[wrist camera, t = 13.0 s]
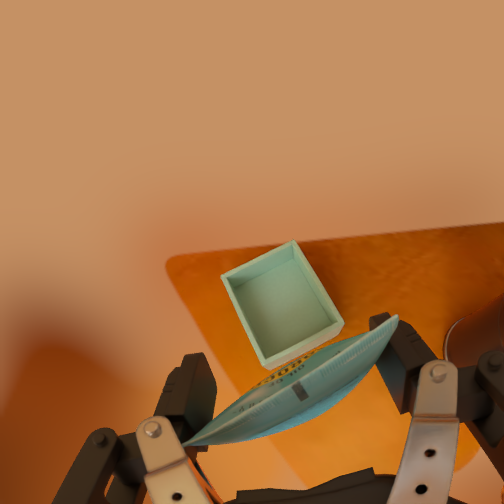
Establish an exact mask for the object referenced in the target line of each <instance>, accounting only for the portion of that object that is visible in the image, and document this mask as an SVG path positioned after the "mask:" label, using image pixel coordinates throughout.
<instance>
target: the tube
mask: <svg viewBox="0 0 504 504" xmlns="http://www.w3.org/2000/svg"><path fill="white" fill-rule="evenodd" d="M398 321H399V316H398V315H397V314H396V315H394V316H392V317H391V318H389V319H388V320H386V321H385V322H383V323H382V324H381V325H380V326H378V327H377V328H375V329H374V330H372V331H369V332H366V333H363V334H360V335H357V336H354V337H351V338H348V339H345V340H343V341H340V342H337V343H334V344H331V345H329V346H326V347H323V348H321V349H318V350H316V351H314V352H312V353H310V354H307V355H305V356H303V357H301V358H299V359H297V360H295V361H293V362H291V363H290V364H288V365H286V366H284V367H283V368H281V369H280V370H278V371H277V372H275V373H273V374H272V375H270V376H269V377H267V378H266V379H264V380H263V381H261V382H260V383H259V384H257V385H256V386H254V387H253V388H251V389H250V390H249V391H248V392H246V393H245V394H244V395H243V396H241V397H240V398H239V399H238V400H236V401H235V402H234V403H233V404H231V405H230V406H229V407H228V408H227V409H225V410H224V411H223V412H222V413H220V414H219V415H218V416H217V417H216V418H214V419H213V420H212V421H211V422H209V423H208V424H207V425H206V426H205V427H204V428H203V429H202V430H200V431H199V432H198V433H197V434H196V435H195V436H194V437H192V438H191V439H190V440H189V441H187V442H185V443H183V446H184V447H186V446H198V445H220V444H229V443H236V442H242V441H247V440H252V439H256V438H260V437H264V436H268V435H271V434H275V433H278V432H281V431H284V430H287V429H290V428H292V427H295V426H297V425H300V424H302V423H305V422H307V421H309V420H311V419H313V418H315V417H317V416H319V415H321V414H322V413H324V412H326V411H327V410H328V409H330V408H331V407H333V406H334V405H335V404H337V403H338V402H339V401H340V400H341V399H343V398H344V397H345V396H346V395H347V394H348V393H349V392H350V391H351V390H353V389H354V387H355V386H356V385H357V384H358V383H359V382H360V381H361V380H362V379H363V378H364V377H365V375H366V374H367V373H368V372H369V370H370V369H371V368H372V367H373V365H374V364H375V363H376V361H377V360H378V358H379V357H380V355H381V354H382V352H383V350H384V349H385V347H386V345H387V344H388V342H389V340H390V338H391V336H392V334H393V333H394V331H395V329H396V328H397V325H398Z"/></svg>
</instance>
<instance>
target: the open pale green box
mask: <svg viewBox="0 0 504 504" xmlns="http://www.w3.org/2000/svg"><path fill="white" fill-rule="evenodd" d="M221 278H222V281H223V283H224V285H225V287H226V290H227V292H228V294H229V296H230V298H231V301H232V303H233V305H234V307H235V309H236V311H237V314H238V316H239V318H240V320H241V322H242V324H243V327H244V329H245V331H246V333H247V335H248V337H249V339H250V341H251V343H252V346H253V348H254V350H255V352H256V354H257V356H258V358H259V360H260V362H261V364H262V366H263V367H265V368H267V369H268V370H272V369H274V368H276V367H278V366H280V365H282V364H284V363H286V362H288V361H290V360H292V359H294V358H296V357H298V356H300V355H302V354H304V353H306V352H308V351H310V350H312V349H313V348H315V347H317V346H319V345H321V344H323V343H325V342H326V341H328V340H330V339H332V338H334V337H335V336H337V335H338V334H339V333H340V331H341V329H342V327H343V326H344V324H345V322H344V320H343V319H342V317H341V315H340V314H339V312H338V310H337V309H336V307H335V305H334V303H333V302H332V300H331V298H330V297H329V295H328V293H327V292H326V290H325V288H324V287H323V285H322V283H321V282H320V280H319V278H318V277H317V275H316V273H315V272H314V270H313V269H312V267H311V265H310V264H309V262H308V260H307V259H306V257H305V256H304V254H303V252H302V251H301V249H300V248H299V246H298V244H297V243H296V241H295V240H294V239H293V240H291V241H289V242H287V243H285V244H283V245H281V246H279V247H277V248H275V249H273V250H271V251H269V252H267V253H265V254H263V255H261V256H259V257H257V258H255V259H253V260H251V261H249V262H247V263H245V264H243V265H241V266H239V267H237V268H235V269H233V270H231V271H229V272H227V273H225V274H223V275H221Z"/></svg>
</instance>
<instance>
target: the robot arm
mask: <svg viewBox="0 0 504 504" xmlns="http://www.w3.org/2000/svg"><path fill="white" fill-rule="evenodd" d="M389 318H391V316H390V315H389V313H387V312H385V313H382V314H379V315H375V316H372V317H370V318H369V327H370V331H372V330H374V329H375V328H377V327H378V326H380V325H381V324H382V323H383V322H385V321H386V320H388V319H389ZM443 357H444V360H438V358H437V357H436V356H435V354H434V353H433V352H432V351H431V349H430V348H429V347H428V346H427V344H426V343H425V342H424V341H423V339H421V337H420V336H419V334H417V332H416V331H415V330H414V328H413V327H412V326H411V325H410V324H408V323H406V322H404V321H402V320H400V321H398V325H397V328H396V329H395V331H394V333H393V334H392V336H391V338H390V340H389V342H388V344H387V345H386V347H385V349H384V350H383V352H382V354H381V355H380V357H379V358H378V360H377V361H376V363H375V364H376V366H377V368H378V370H379V372H380V374H381V376H382V378H383V380H384V382H385V384H386V386H387V388H388V390H389V392H390V394H391V396H392V398H393V400H394V402H395V404H396V406H397V408H398V410H399V412H400V414H404V413H407V412H410V414H411V416H412V419H411V423H410V428H409V432H408V436H407V440H406V444H405V448H404V451H403V455H402V459H401V462H400V465H399V469H398V472H397V475H392V474H374V470H373V467H371V468H368V469H364V470H361V471H357V472H354V473H350V474H346V475H342V476H339V477H336V478H334V479H332V480H330V481H328V482H325V483H323V484H320V485H318V486H316V487H313V488H311V489H308V490H284V489H273V488H267V489H256V490H242V491H237V496H236V499H234V500H231V501H228V502H225V503H224V502H223V501H222V499H221V498H220V497H219V495H218V494H217V492H216V491H215V489H214V488H213V486H212V484H211V483H210V481H209V480H208V478H207V476H206V475H205V473H204V471H203V470H202V468H201V466H200V465H199V463H198V461H197V460H196V457H197V452H207V451H208V445H198V446H186V447H184V446H183V443H185V442H187V441H189V440H190V439H191V438H192V437H194V436H195V435H196V434H197V433H198V432H199V431H200V430H202V429H203V428H204V427H205V426H206V425H207V424H208V423H209V422H211V421H212V419H213V413H214V407H215V400H216V395H217V386H216V381H215V378H214V376H213V373H212V371H211V369H210V367H209V364H208V362H207V359H206V357H205V355H204V353H202V352H201V353H194V354H187V355H185V356H184V358H183V361H182V364H181V367H176V368H175V369H174V370H173V371H172V372H171V373H170V374H169V375H168V378H167V381H166V383H165V386H164V388H163V393H162V394H161V396H160V399H159V402H158V404H157V407H156V410H155V413H154V415H153V417H149V418H147V419H145V420H144V421H142V422H141V423H140V424H139V425H138V427H137V429H136V432H134V433H129V434H125V435H120V436H118V435H117V434H116V433H115V431H114V430H112V429H110V428H100V429H97V430H95V431H94V432H92V433H91V434H90V435H89V437H88V438H87V440H86V442H85V443H84V445H83V447H82V449H81V450H80V452H79V454H78V456H77V457H76V459H75V461H74V463H73V465H72V467H71V468H70V470H69V472H68V474H67V475H66V477H65V479H64V481H63V483H62V485H61V487H60V488H59V490H58V492H57V494H56V496H55V498H54V500H53V502H52V504H142V503H143V500H144V498H145V495H146V492H147V489H148V492H149V494H150V497H151V500H152V502H153V504H467V503H465V502H462V501H460V500H457V499H454V498H452V497H450V496H448V495H449V491H450V486H451V481H452V476H453V471H454V465H455V458H456V451H457V443H458V434H459V423H462V422H464V423H465V424H466V426H467V427H468V428H469V430H470V431H471V433H472V434H473V436H474V437H475V438H476V440H477V441H478V443H479V444H480V446H481V447H482V449H483V450H484V452H485V453H486V454H487V456H488V458H489V459H490V461H491V462H492V464H493V465H494V467H495V468H496V469H497V471H498V473H499V474H500V476H501V477H502V479H503V481H504V293H503V294H501V295H500V296H498V297H497V298H495V299H494V300H492V301H491V302H489V303H488V304H486V305H485V306H483V307H482V308H480V309H478V310H477V311H475V312H473V313H472V314H470V315H468V316H467V317H464V318H462V319H460V320H459V321H457V322H456V323H454V324H453V325H452V326H451V328H450V329H449V331H448V332H447V334H446V337H445V340H444V345H443ZM111 475H113V476H114V479H113V481H112V483H111V485H110V488H109V490H108V492H107V495H106V497H105V495H104V491H105V488H106V486H107V484H108V481H109V479H110V477H111ZM501 499H502V504H504V486H503V488H502V492H501Z"/></svg>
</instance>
